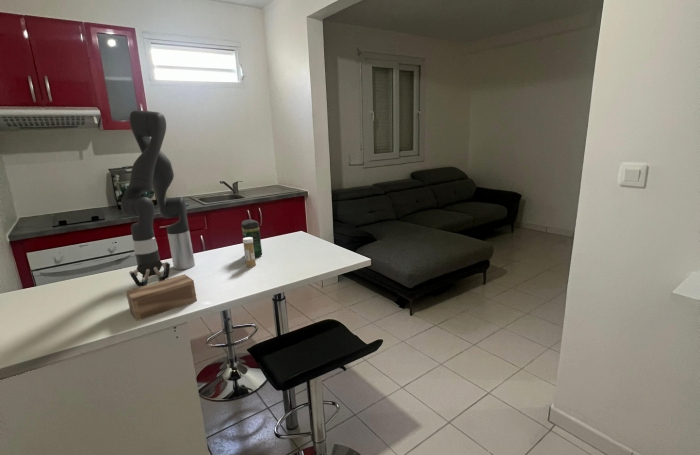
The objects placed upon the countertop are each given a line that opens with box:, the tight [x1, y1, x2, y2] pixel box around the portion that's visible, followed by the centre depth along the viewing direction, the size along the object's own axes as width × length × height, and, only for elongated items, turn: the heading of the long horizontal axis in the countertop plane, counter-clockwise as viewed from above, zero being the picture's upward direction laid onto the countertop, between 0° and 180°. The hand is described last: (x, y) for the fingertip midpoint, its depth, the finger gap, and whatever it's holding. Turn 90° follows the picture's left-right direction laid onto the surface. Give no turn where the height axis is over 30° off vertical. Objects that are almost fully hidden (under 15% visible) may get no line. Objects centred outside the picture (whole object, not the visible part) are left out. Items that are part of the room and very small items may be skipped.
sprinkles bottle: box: [242, 237, 257, 268], centre depth 165 cm, size 5×5×14 cm
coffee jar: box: [240, 218, 263, 259], centre depth 178 cm, size 10×8×19 cm
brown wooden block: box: [125, 273, 198, 322], centre depth 128 cm, size 9×20×8 cm, turn 133°
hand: (154, 291), depth 136 cm, fingers closed on cover plate, 4 cm apart
